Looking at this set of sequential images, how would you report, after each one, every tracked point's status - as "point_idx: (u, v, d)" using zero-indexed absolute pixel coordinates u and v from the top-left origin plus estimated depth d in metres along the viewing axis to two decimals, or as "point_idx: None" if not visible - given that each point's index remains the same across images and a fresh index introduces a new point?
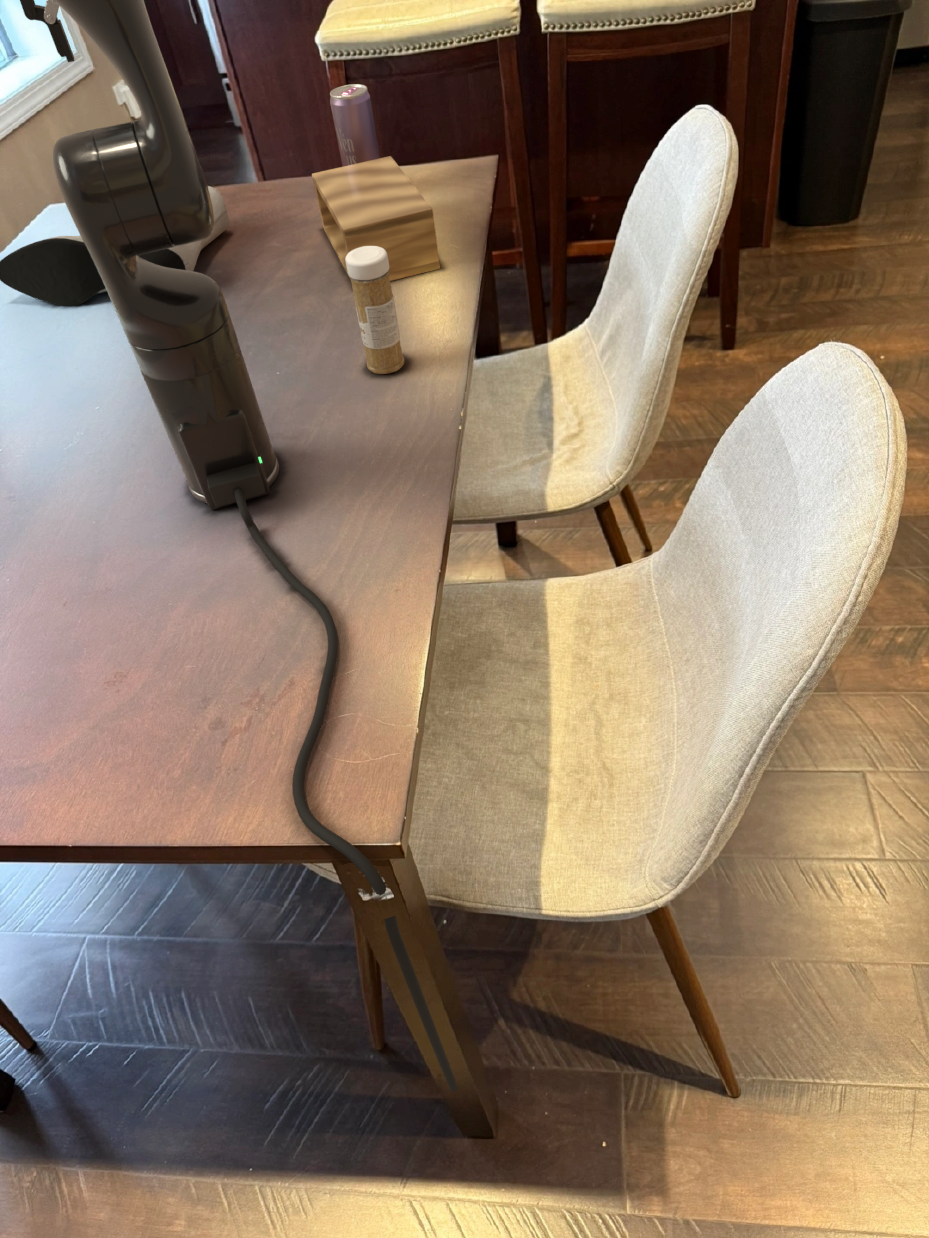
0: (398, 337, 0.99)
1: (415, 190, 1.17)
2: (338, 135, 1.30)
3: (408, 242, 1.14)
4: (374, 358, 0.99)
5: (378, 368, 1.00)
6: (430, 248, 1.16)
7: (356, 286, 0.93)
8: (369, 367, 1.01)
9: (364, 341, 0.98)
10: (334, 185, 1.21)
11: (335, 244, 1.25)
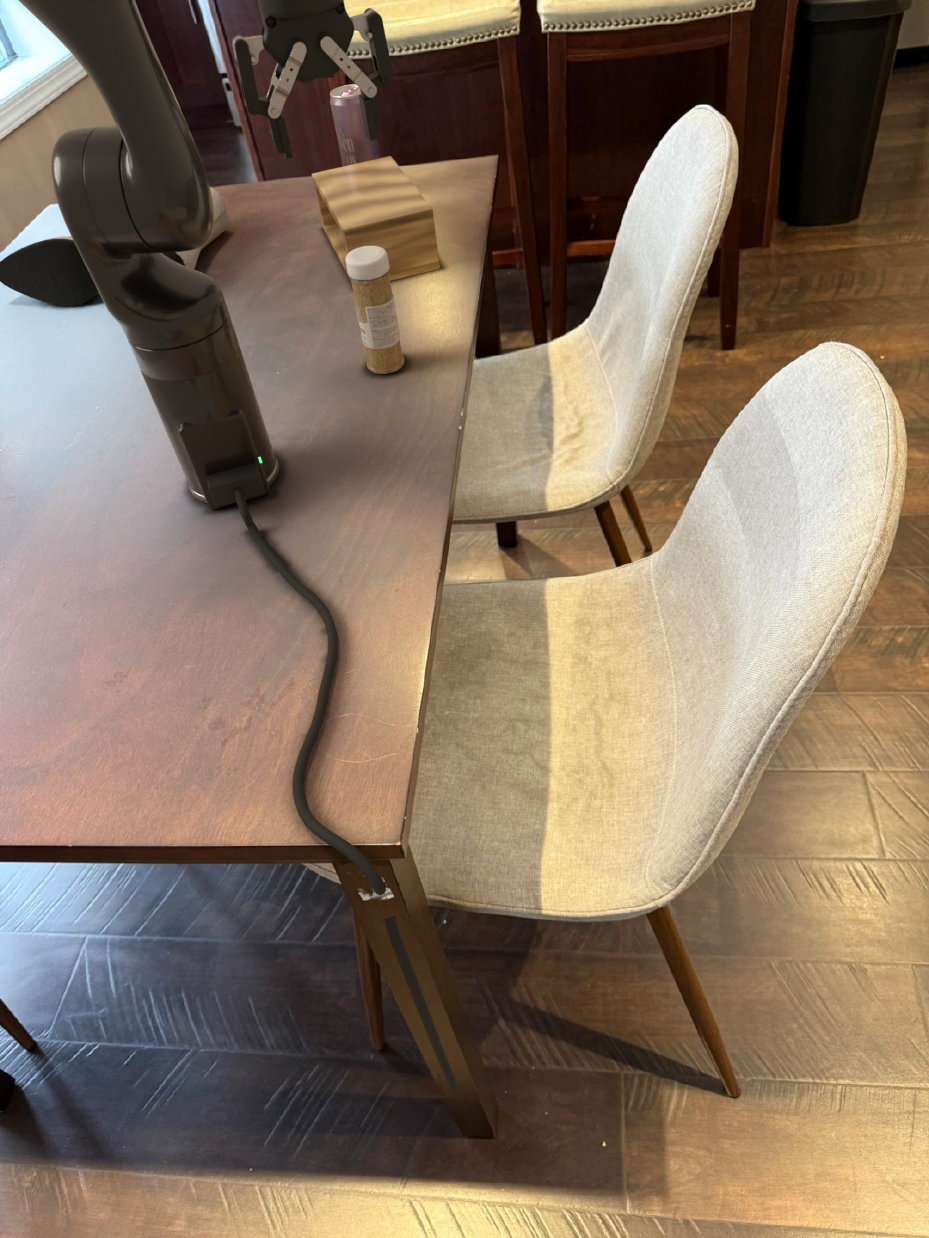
0: (398, 337, 0.99)
1: (415, 190, 1.17)
2: (338, 135, 1.30)
3: (408, 242, 1.14)
4: (374, 358, 0.99)
5: (378, 368, 1.00)
6: (430, 248, 1.16)
7: (356, 286, 0.93)
8: (369, 367, 1.01)
9: (364, 341, 0.98)
10: (334, 185, 1.21)
11: (335, 244, 1.25)
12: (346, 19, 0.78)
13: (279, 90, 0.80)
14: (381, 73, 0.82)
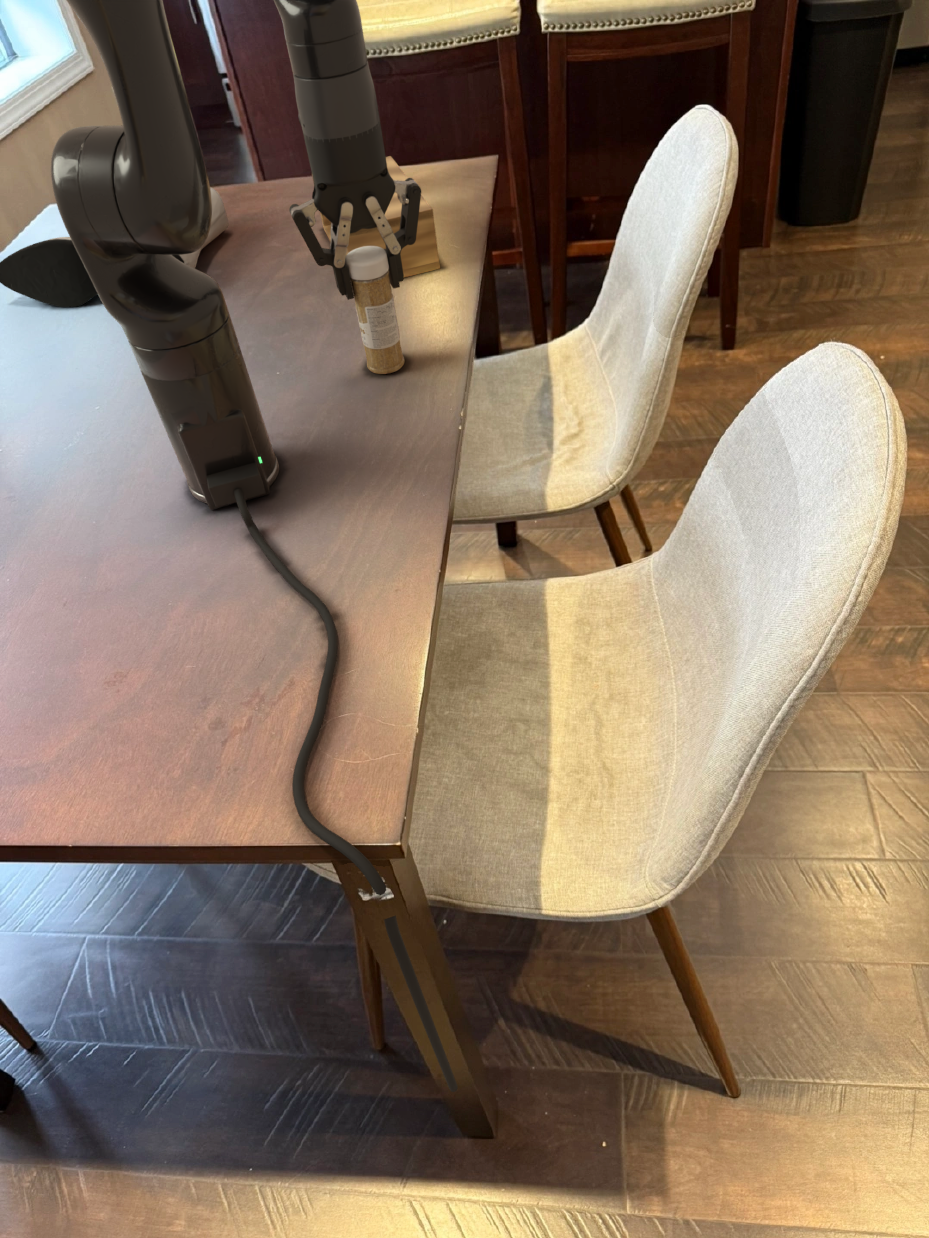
0: (398, 337, 0.99)
1: None
2: None
3: None
4: (374, 358, 0.99)
5: (378, 368, 1.00)
6: (430, 248, 1.16)
7: (356, 286, 0.93)
8: (369, 367, 1.01)
9: (364, 341, 0.98)
10: None
11: None
12: (389, 180, 0.87)
13: (339, 245, 0.89)
14: (406, 233, 0.91)
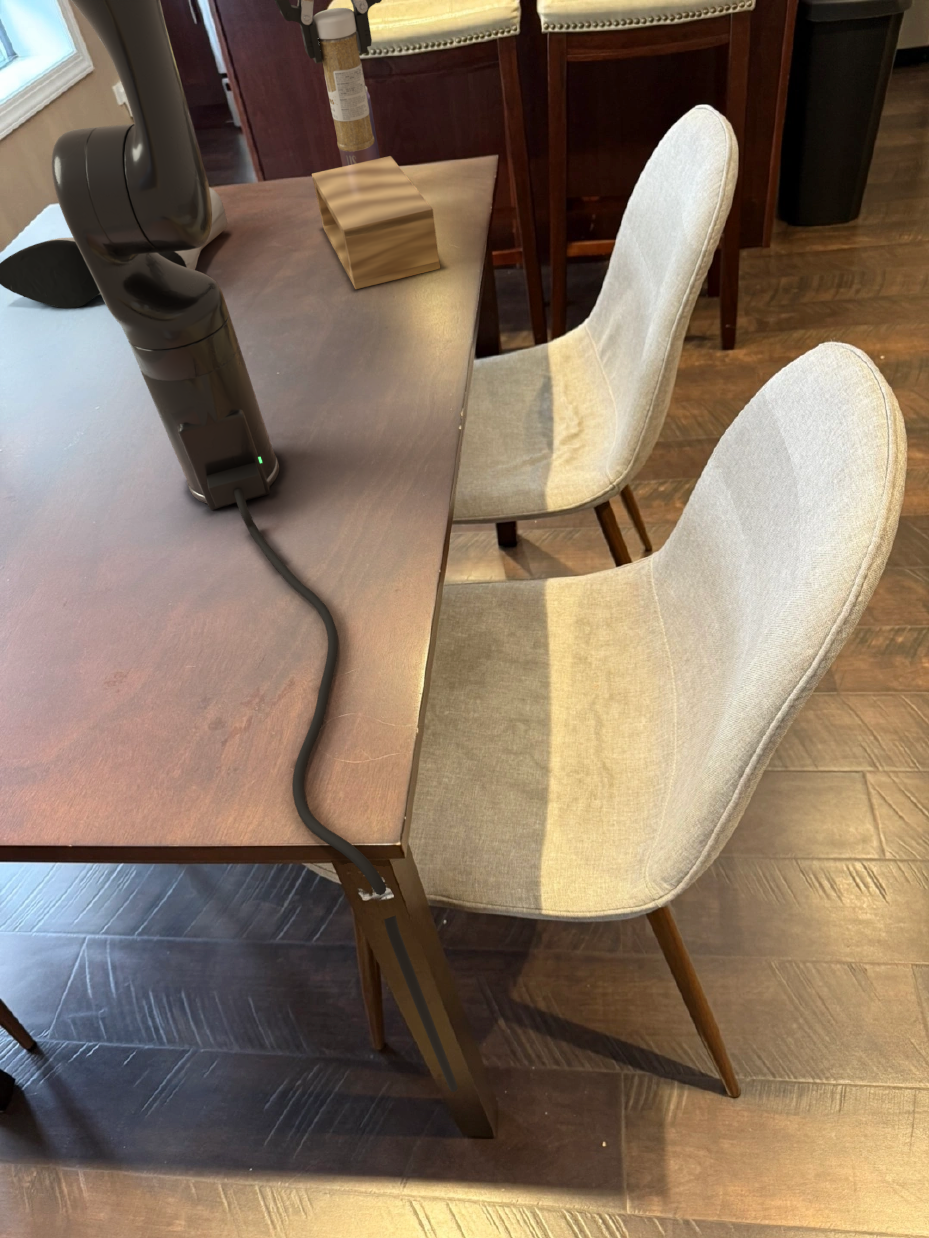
0: (367, 111, 1.00)
1: (415, 190, 1.17)
2: None
3: (408, 242, 1.14)
4: (344, 132, 1.00)
5: (348, 144, 1.01)
6: (430, 248, 1.16)
7: (324, 48, 0.94)
8: (339, 145, 1.02)
9: (334, 114, 1.00)
10: (334, 185, 1.21)
11: (335, 244, 1.25)
12: None
13: None
14: None
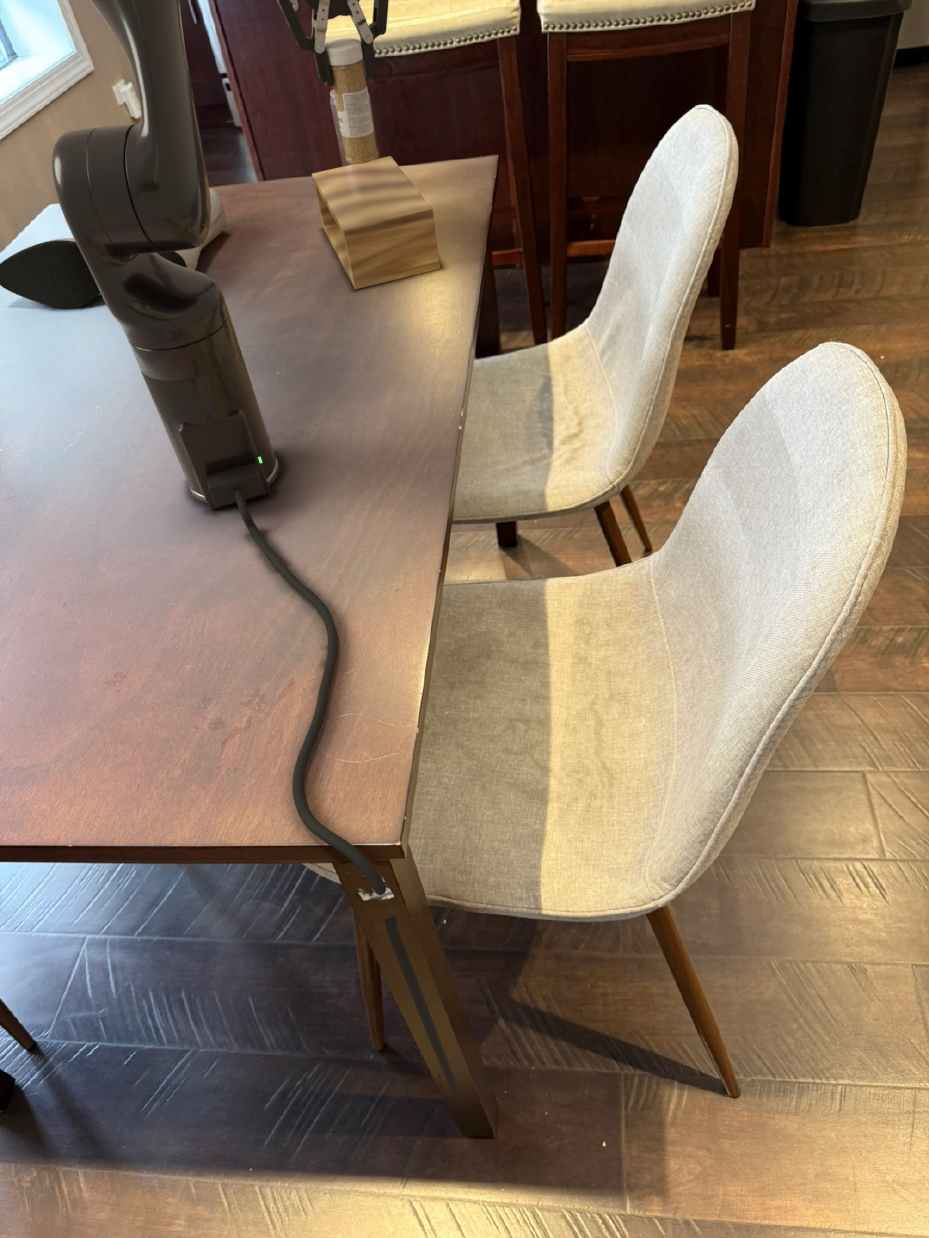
0: (372, 128, 1.12)
1: (415, 190, 1.17)
2: (338, 135, 1.30)
3: (408, 242, 1.14)
4: (351, 147, 1.13)
5: (355, 158, 1.14)
6: (430, 248, 1.16)
7: (334, 73, 1.07)
8: (347, 159, 1.15)
9: (342, 131, 1.12)
10: (334, 185, 1.21)
11: (335, 244, 1.25)
12: None
13: (319, 30, 1.03)
14: (378, 22, 1.05)
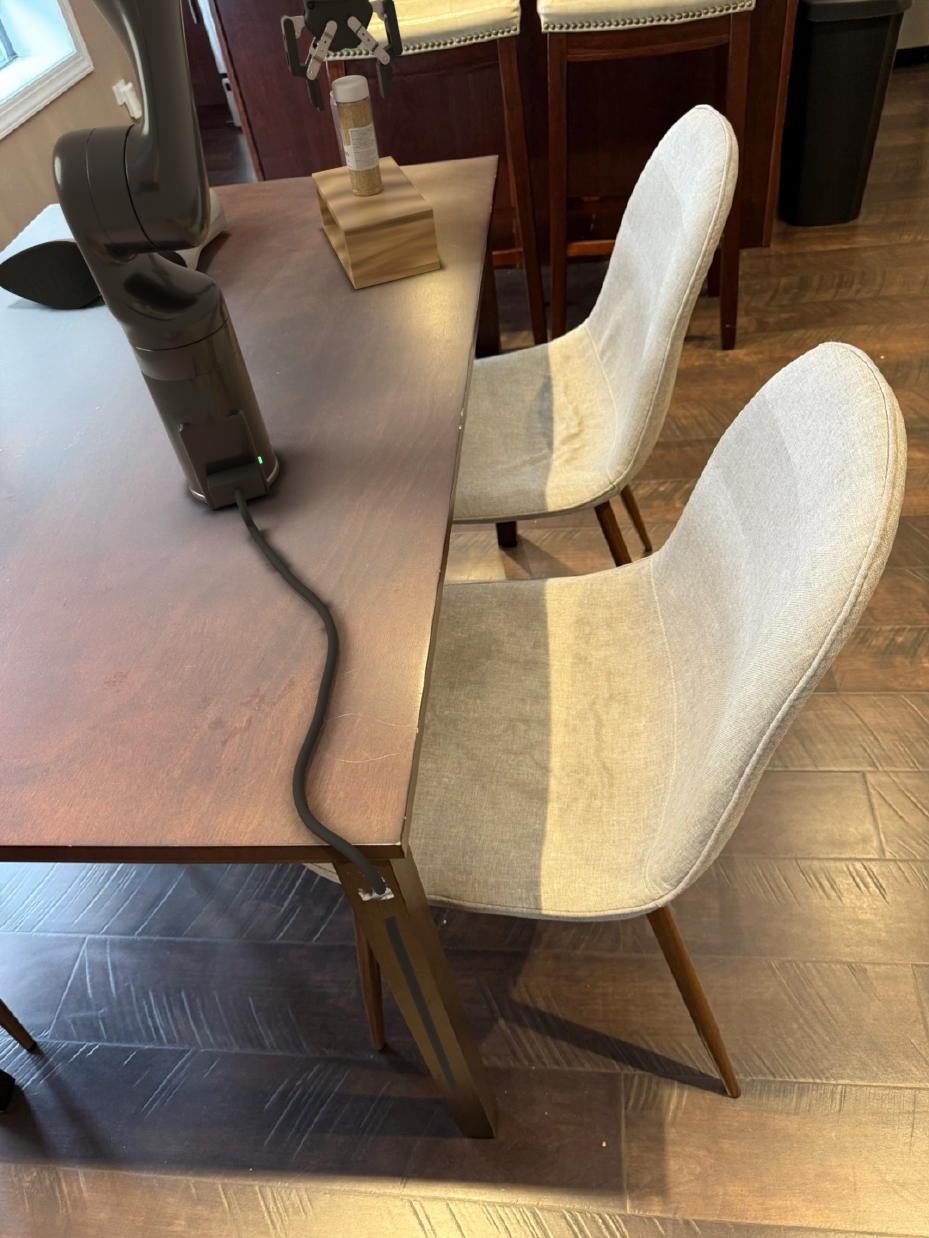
0: (377, 161, 1.15)
1: (415, 190, 1.17)
2: (338, 135, 1.30)
3: (408, 242, 1.14)
4: (357, 180, 1.16)
5: (361, 190, 1.17)
6: (430, 248, 1.16)
7: (341, 109, 1.10)
8: (353, 190, 1.18)
9: (348, 164, 1.15)
10: (334, 185, 1.21)
11: (335, 244, 1.25)
12: (367, 3, 1.03)
13: (316, 58, 1.05)
14: (393, 45, 1.07)
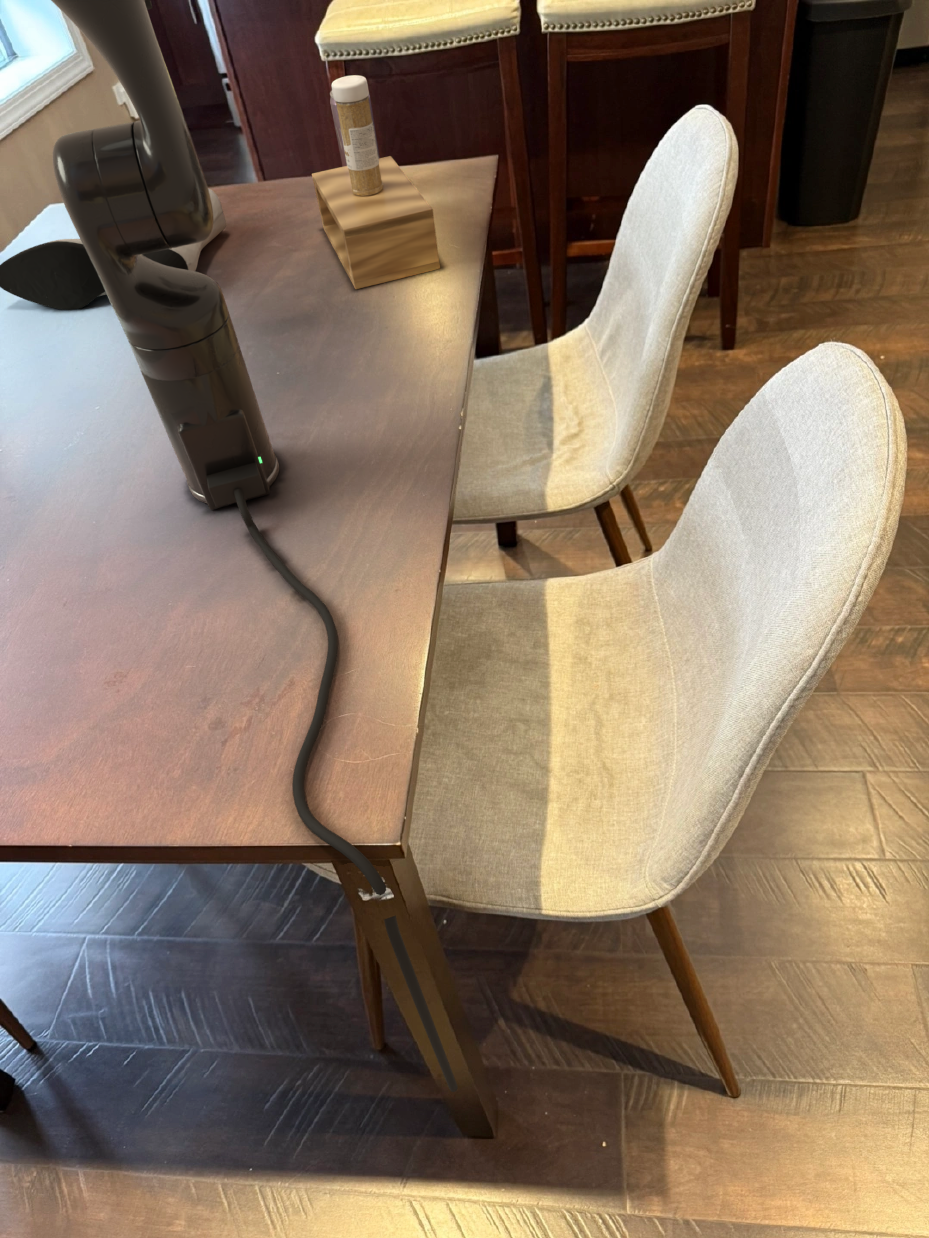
0: (377, 161, 1.15)
1: (415, 190, 1.17)
2: (338, 135, 1.30)
3: (408, 242, 1.14)
4: (357, 180, 1.16)
5: (361, 190, 1.17)
6: (430, 248, 1.16)
7: (341, 109, 1.10)
8: (353, 190, 1.18)
9: (348, 164, 1.15)
10: (334, 185, 1.21)
11: (335, 244, 1.25)
12: None
13: None
14: None
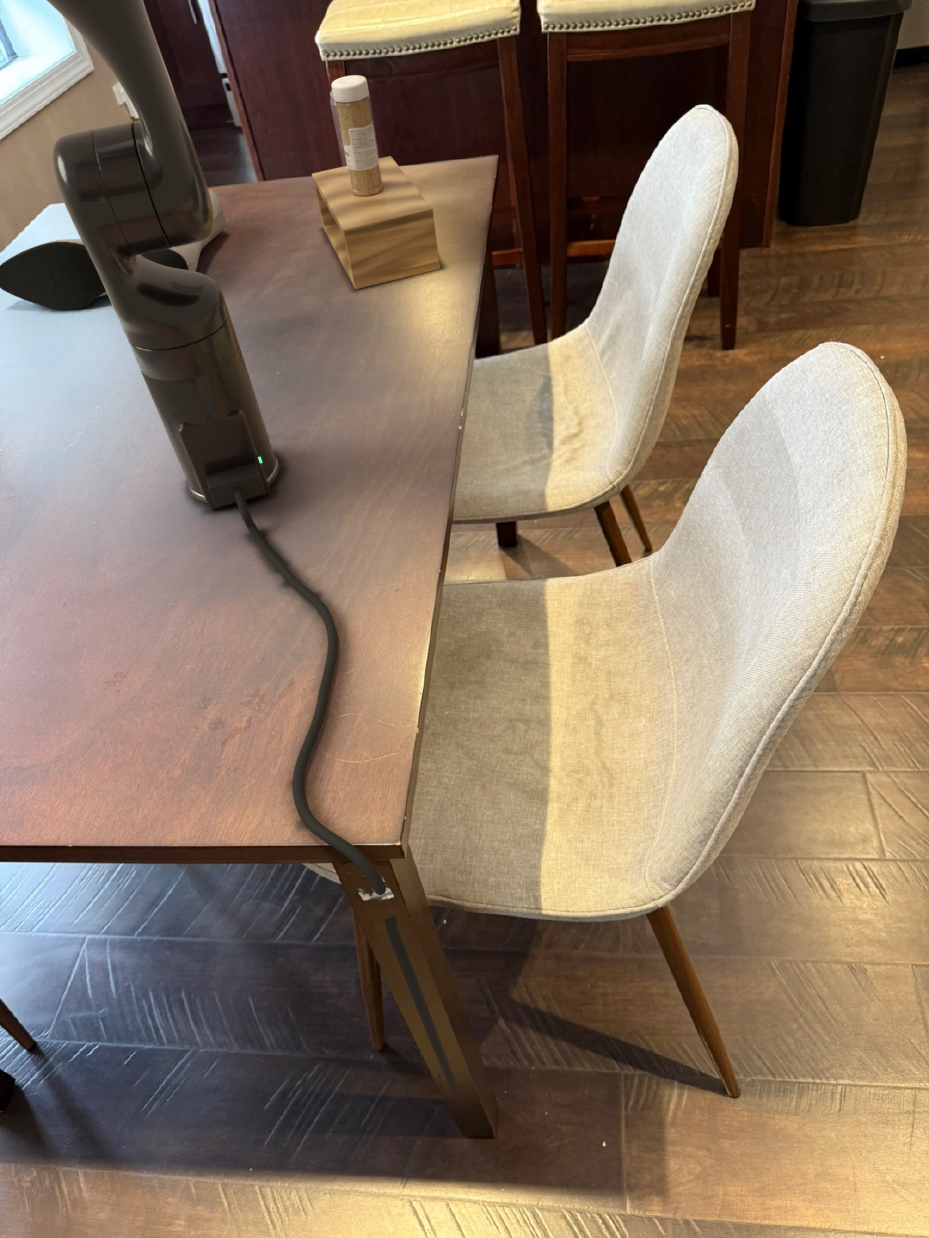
0: (377, 161, 1.15)
1: (415, 190, 1.17)
2: (338, 135, 1.30)
3: (408, 242, 1.14)
4: (357, 180, 1.16)
5: (361, 190, 1.17)
6: (430, 248, 1.16)
7: (341, 109, 1.10)
8: (353, 190, 1.18)
9: (348, 164, 1.15)
10: (334, 185, 1.21)
11: (335, 244, 1.25)
12: None
13: None
14: None
